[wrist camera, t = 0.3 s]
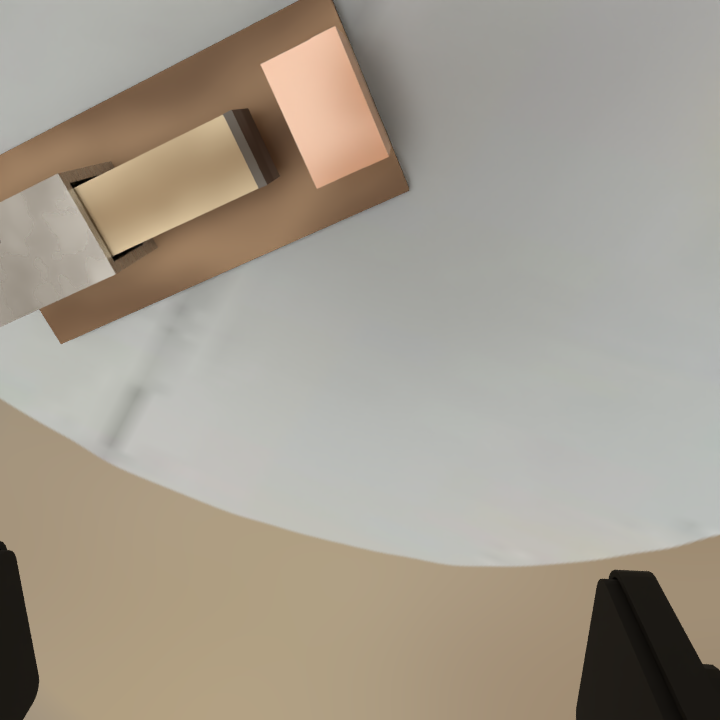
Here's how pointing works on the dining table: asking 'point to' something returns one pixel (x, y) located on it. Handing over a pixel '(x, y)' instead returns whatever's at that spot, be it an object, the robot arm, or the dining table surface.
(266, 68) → the terracotta socket
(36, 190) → the metal sleeve
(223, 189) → the tube
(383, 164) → the walnut board
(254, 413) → the dining table surface
